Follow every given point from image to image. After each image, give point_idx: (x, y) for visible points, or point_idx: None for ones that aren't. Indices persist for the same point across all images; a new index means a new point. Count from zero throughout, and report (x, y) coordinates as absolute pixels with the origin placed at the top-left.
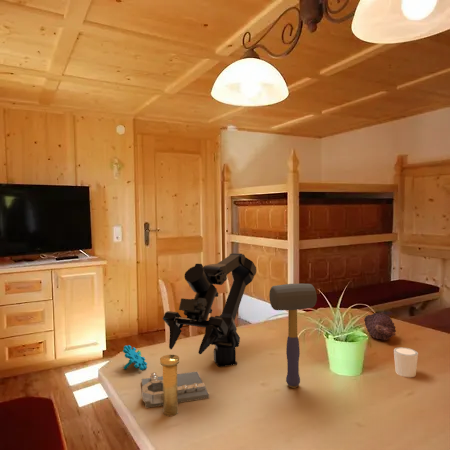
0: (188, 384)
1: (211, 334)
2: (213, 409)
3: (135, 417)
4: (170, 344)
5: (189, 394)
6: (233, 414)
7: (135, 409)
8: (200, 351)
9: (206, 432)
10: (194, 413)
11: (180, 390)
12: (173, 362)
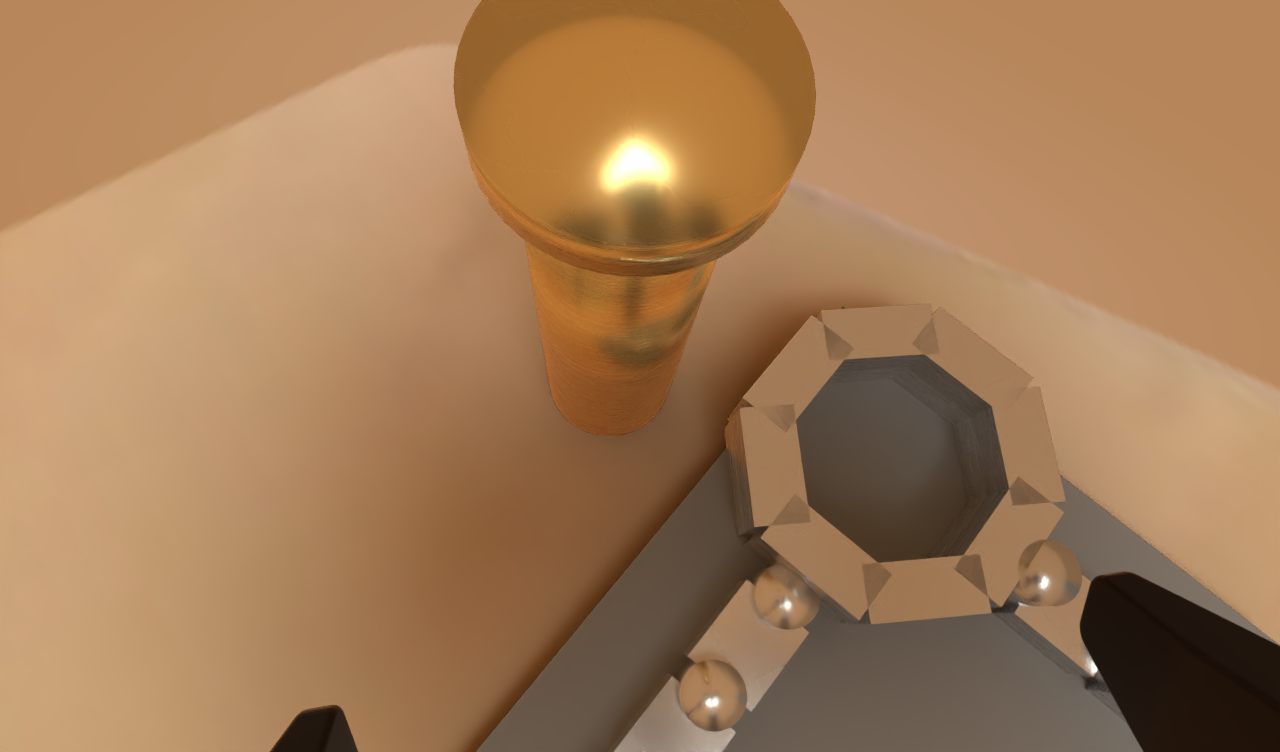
0: None
1: None
2: (289, 619)
3: (791, 188)
4: (1163, 607)
5: (622, 667)
6: (65, 651)
7: (882, 264)
8: (286, 747)
9: (176, 304)
10: (415, 468)
11: (712, 620)
12: (478, 20)
